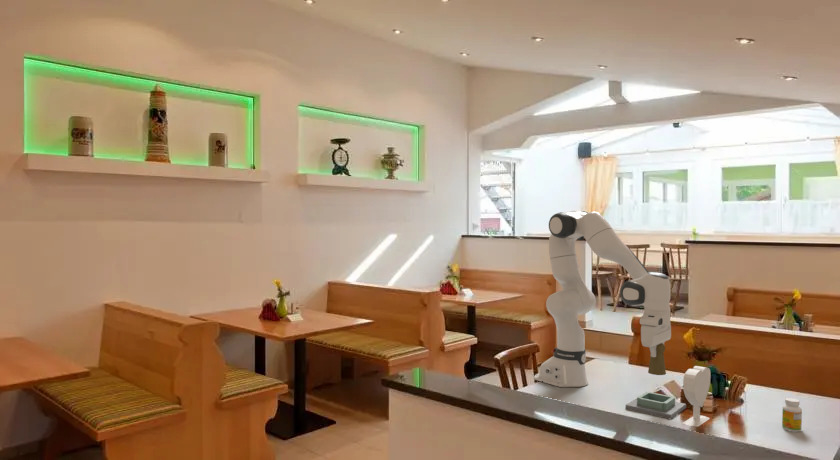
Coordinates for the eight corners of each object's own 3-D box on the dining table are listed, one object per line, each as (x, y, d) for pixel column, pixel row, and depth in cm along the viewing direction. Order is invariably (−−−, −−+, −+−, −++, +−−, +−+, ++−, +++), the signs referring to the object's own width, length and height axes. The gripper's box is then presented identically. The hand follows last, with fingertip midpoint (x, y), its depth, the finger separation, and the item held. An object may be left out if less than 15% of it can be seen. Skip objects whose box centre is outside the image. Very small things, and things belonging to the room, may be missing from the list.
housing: (625, 409, 216) (625, 398, 216) (642, 398, 228) (642, 388, 228) (670, 419, 206) (671, 407, 206) (686, 407, 218) (686, 397, 218)
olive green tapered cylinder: (666, 375, 213) (667, 345, 213) (648, 374, 215) (649, 343, 214) (665, 371, 219) (665, 341, 218) (647, 370, 220) (647, 340, 220)
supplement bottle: (778, 426, 199) (778, 397, 199) (793, 426, 200) (794, 397, 199) (789, 432, 194) (790, 402, 194) (805, 431, 194) (805, 402, 194)
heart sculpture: (697, 413, 212) (698, 363, 211) (712, 417, 208) (713, 365, 208) (680, 424, 201) (681, 371, 200) (695, 428, 197) (696, 374, 197)
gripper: (658, 313, 226) (658, 349, 226) (637, 320, 211) (637, 359, 211) (675, 314, 222) (675, 351, 222) (655, 322, 207) (655, 361, 207)
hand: (656, 355), depth 217 cm, fingers closed on olive green tapered cylinder, 4 cm apart
